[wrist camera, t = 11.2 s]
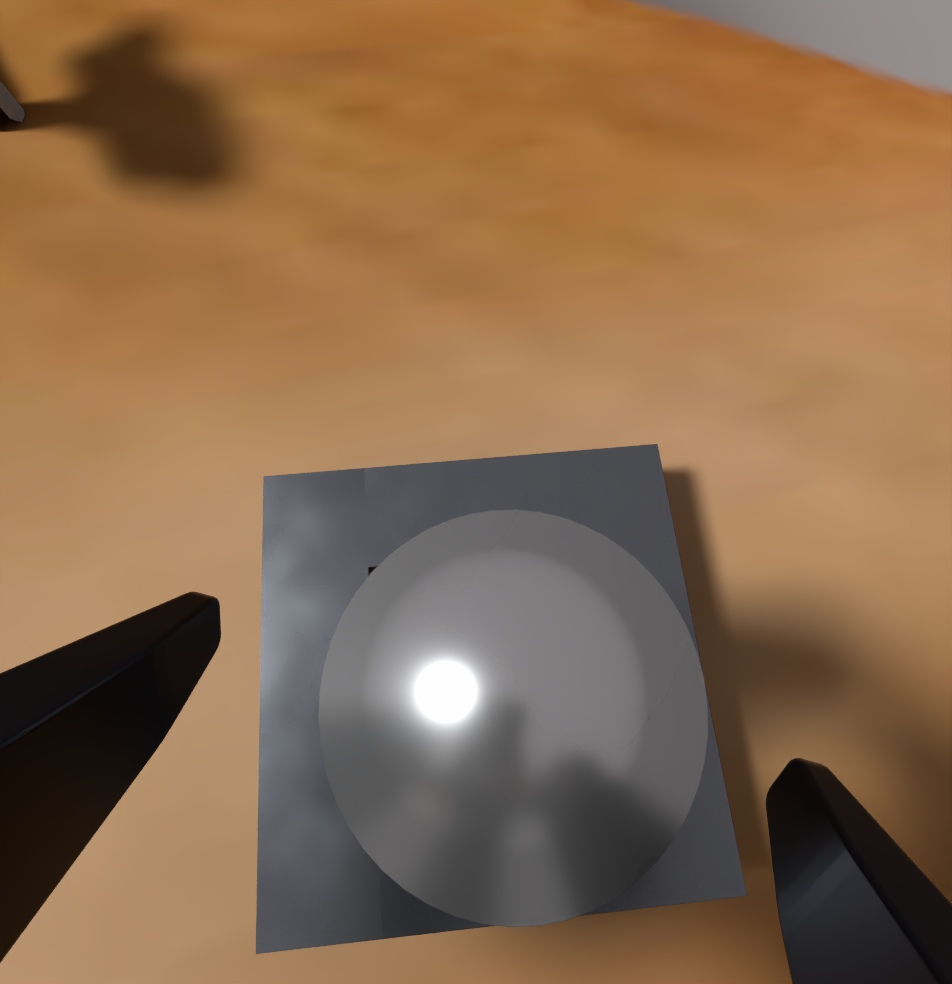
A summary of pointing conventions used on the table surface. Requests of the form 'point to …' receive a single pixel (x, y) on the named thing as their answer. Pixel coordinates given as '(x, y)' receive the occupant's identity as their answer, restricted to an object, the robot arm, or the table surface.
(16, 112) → the mechanical component
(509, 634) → the axle
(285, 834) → the block
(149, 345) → the table surface
